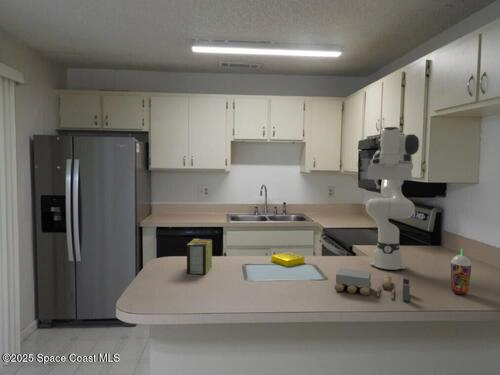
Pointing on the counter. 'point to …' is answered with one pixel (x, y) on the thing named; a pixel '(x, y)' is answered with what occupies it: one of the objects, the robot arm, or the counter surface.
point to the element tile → (288, 259)
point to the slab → (353, 277)
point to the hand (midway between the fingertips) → (388, 189)
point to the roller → (386, 282)
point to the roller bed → (363, 290)
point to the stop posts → (406, 289)
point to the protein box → (199, 256)
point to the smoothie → (460, 274)
